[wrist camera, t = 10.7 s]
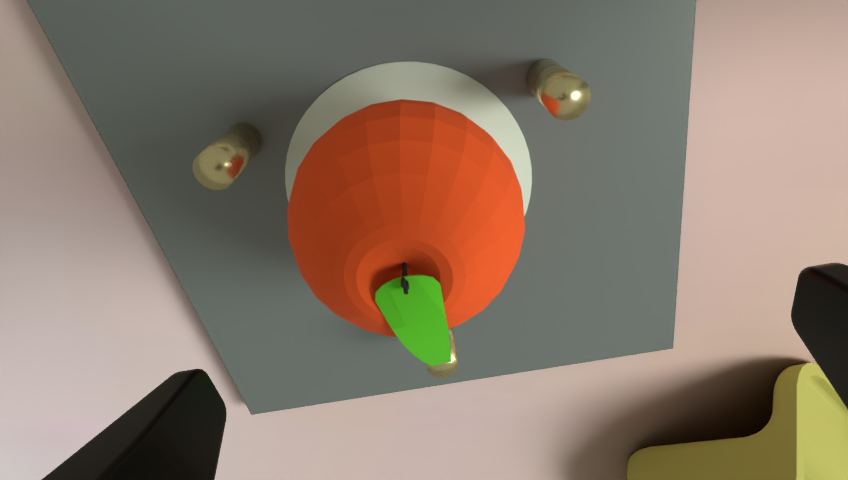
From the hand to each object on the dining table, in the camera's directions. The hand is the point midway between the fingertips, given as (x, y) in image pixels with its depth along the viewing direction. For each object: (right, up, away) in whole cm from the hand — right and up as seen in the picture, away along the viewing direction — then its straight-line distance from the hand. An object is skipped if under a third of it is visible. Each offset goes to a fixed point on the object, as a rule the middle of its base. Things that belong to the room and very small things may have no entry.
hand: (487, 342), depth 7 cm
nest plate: (-1, +4, +11) cm, 12 cm away
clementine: (-1, +4, +11) cm, 11 cm away
